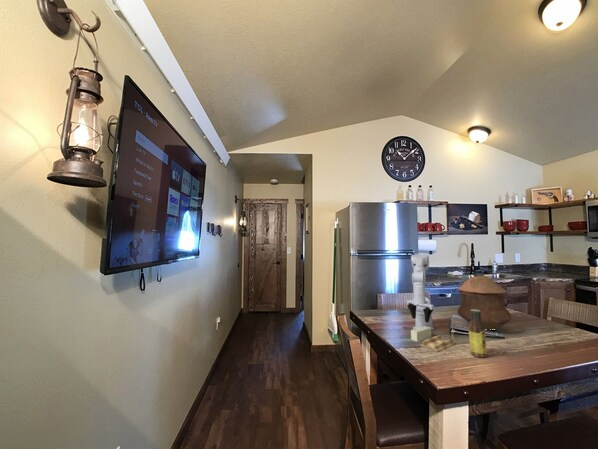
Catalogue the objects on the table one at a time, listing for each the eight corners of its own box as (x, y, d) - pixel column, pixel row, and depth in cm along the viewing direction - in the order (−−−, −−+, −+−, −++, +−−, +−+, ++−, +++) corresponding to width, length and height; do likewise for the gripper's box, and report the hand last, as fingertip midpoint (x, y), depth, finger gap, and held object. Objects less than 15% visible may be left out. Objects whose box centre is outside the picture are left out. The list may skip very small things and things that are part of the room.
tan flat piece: (438, 339, 135) (438, 334, 135) (454, 344, 128) (454, 339, 128) (420, 345, 128) (420, 340, 128) (437, 351, 120) (437, 346, 120)
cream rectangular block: (425, 335, 142) (424, 326, 142) (431, 337, 139) (430, 327, 139) (411, 339, 136) (410, 330, 136) (417, 342, 133) (416, 332, 133)
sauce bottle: (487, 359, 112) (484, 313, 113) (470, 356, 115) (467, 311, 116) (486, 353, 117) (483, 309, 119) (469, 350, 121) (467, 307, 122)
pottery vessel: (521, 339, 133) (518, 280, 135) (464, 334, 142) (461, 279, 144) (502, 323, 157) (498, 274, 159) (454, 320, 166) (451, 273, 168)
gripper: (402, 293, 143) (403, 318, 142) (427, 297, 130) (428, 325, 129) (411, 291, 146) (412, 315, 145) (435, 296, 134) (437, 322, 133)
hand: (420, 320), depth 138 cm, fingers open, 7 cm apart
